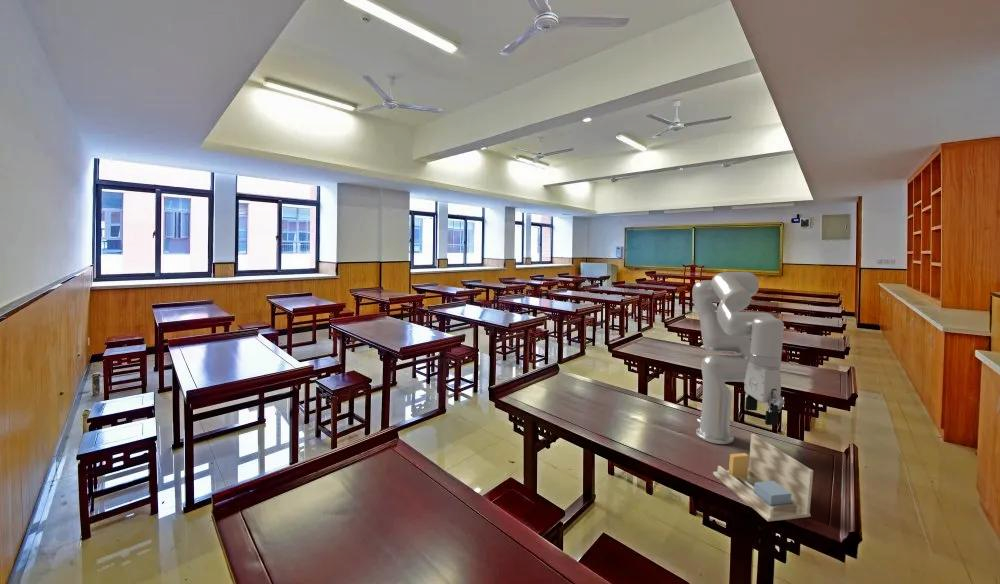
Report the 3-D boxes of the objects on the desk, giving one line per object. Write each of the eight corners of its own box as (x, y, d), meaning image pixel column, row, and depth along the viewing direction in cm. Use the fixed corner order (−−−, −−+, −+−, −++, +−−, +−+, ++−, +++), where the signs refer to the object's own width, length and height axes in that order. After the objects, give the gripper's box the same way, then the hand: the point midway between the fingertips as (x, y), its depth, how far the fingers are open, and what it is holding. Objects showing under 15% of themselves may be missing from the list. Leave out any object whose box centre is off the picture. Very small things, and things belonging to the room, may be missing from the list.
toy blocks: (726, 477, 125) (728, 454, 124) (744, 475, 126) (746, 452, 125) (770, 512, 109) (772, 486, 108) (790, 510, 110) (792, 484, 109)
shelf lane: (713, 474, 129) (715, 435, 127) (748, 470, 130) (751, 432, 129) (768, 521, 107) (771, 475, 105) (810, 516, 109) (814, 471, 107)
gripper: (735, 352, 125) (731, 405, 127) (770, 370, 108) (765, 430, 110) (760, 352, 125) (756, 405, 127) (799, 370, 108) (794, 431, 110)
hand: (760, 417), depth 119 cm, fingers open, 9 cm apart
